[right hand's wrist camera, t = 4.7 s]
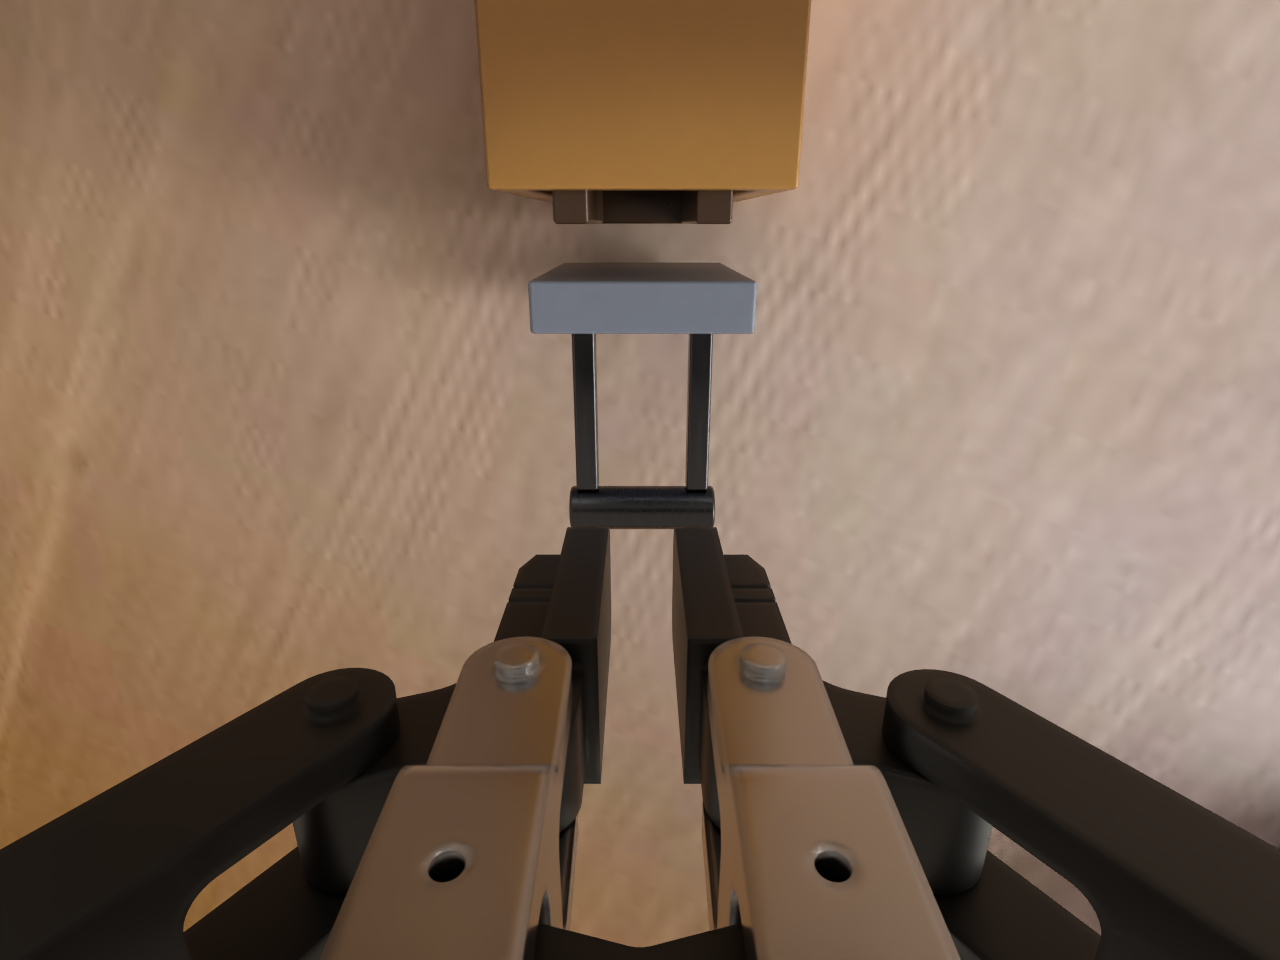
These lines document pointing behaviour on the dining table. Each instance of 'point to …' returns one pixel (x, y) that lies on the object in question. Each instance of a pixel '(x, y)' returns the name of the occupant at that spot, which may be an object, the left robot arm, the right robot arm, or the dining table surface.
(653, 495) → the drawer
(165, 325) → the dining table surface
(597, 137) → the cabinet
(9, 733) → the dining table surface
